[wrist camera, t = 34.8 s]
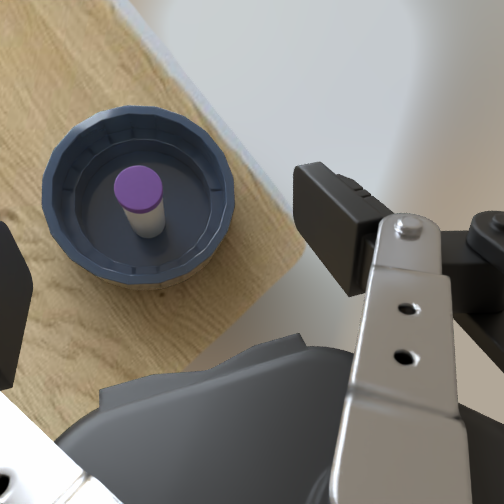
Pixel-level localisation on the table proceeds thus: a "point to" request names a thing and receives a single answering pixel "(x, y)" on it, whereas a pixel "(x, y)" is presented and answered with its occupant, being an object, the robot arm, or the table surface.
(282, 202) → the table surface
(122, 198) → the glue stick
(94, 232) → the bowl
